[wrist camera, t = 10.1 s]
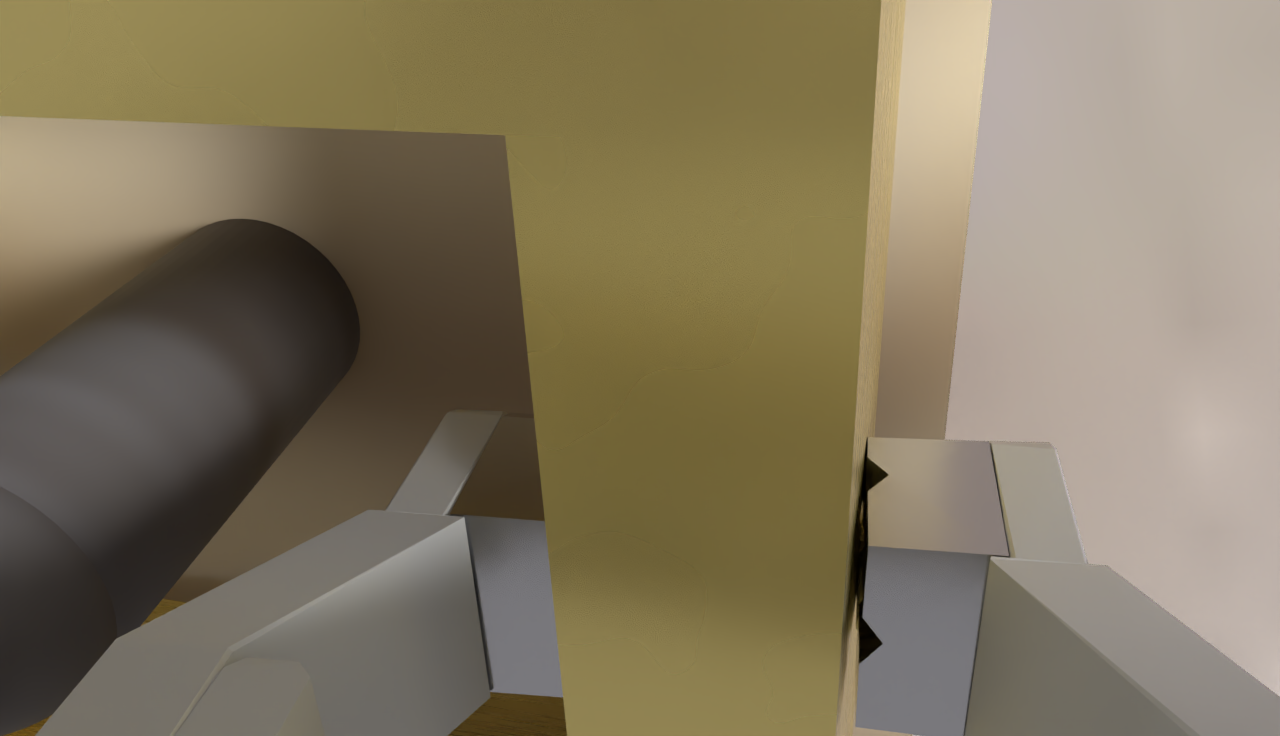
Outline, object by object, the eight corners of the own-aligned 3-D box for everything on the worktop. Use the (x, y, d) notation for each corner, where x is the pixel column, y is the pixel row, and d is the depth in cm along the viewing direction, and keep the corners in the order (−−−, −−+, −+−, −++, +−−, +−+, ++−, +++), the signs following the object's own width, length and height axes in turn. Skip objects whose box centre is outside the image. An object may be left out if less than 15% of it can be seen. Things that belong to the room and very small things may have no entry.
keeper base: (-461, -434, 12) (-2176, -653, 5) (1027, -574, 10) (1454, -1399, 3) (2, 638, 20) (-456, 1116, 13) (897, 730, 17) (919, 1397, 10)
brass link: (-478, -215, 11) (-1085, -193, 8) (926, -290, 8) (899, -310, 5) (-67, 657, 17) (-317, 882, 14) (846, 820, 14) (809, 1166, 11)
